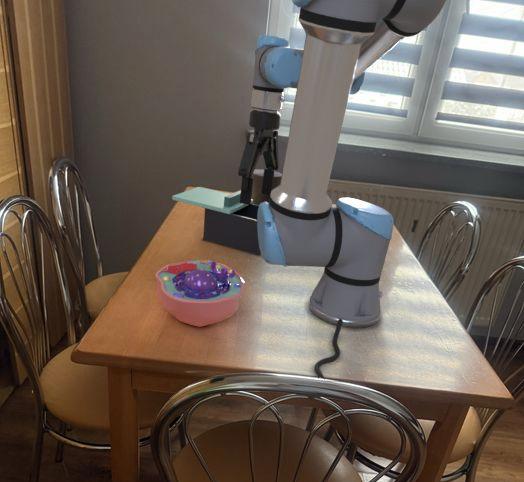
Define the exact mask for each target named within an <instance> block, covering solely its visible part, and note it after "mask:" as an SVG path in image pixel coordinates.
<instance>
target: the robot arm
mask: <svg viewBox="0 0 524 482" xmlns="http://www.w3.org/2000/svg"><path fill="white" fill-rule="evenodd" d="M291 2H292V4H293V5H294V6H296V7H297V8H299V14H298V22H299V23H300V26H301V27H302V29H303V31H304V33H305V37H304V44H303V49H300V48H294V47H290V41H289V39H288V38H287V37H284V36H283V37H282V36H276V35H269V34H260V35H259V36H258V37H257V39H256V48H255V50H254V56H255V57H254V68H253V79H252V89H251V98H250V107H251V108H252V109H250V111H249V118H248V119H249V120H248V125H249V126H250V127H251V128H253V129H254V131H253V133H252V132H248V133H247V135H246V143H245V145H244V148H243V149H244V150H243V152H242V158H241V159H240V164H239V167H238V171H237V175H238V177H241V186H240V190H241V195H240V203H243V204H247V205H251V197H252V187H253V178H251V177H252V175H253V172H254V170H256V167H257V164H258V162H259V160H260V157H261V156H263V160H264V165H265V168H264V169H263V170H264V176H263V185H262V194H265V195H270V200H269V203H268V202H263V203H260V205H259V208H258V214H257V230H258V241H259V248H260V252H261V253H260V255H261V258H262V259H263V261H264V262H265V263H266V264H268V265H274V266H283V267H284V268H286V267H310V268H313V267H314V268H323V269H324V270H323V273H322V276H321V277H320V278H319V281H318V282H317V283H316V286H315V288H314V289H313V291H312V292H311V295H310V297H309V302H308V308H309V311H310V312H311V313H312V314H313V315H314V316H315V317H317V318H318V319H320V321H321V320H322V321H324V322H326V323H328V324H331V325H334V326H336V328H335V331H334V333H333V337H332V343H331V344H332V347H333V350H334V355H332V356H329V357H325V358H322V359H320V360H318V361H317V362H316V363H315V365H314V367H313V368H314V373H315V374H316V377H317V378H318V377H321V378H324V379H325V377H324V374H323V373H322V371H321V369H320V368H321V366H324V365H326V364H328V363H332V362H334V361H336V360H337V359H338V358H340V356H341V350H340V347H339V345H338V338H339V335H340V332H341V329H342V327H343V328H349V329H362V328H368V327H371V326H374V325H376V324H377V323H378V321H379V319H380V315H381V309H382V307H381V299H382V297H383V293H384V292H383V291H380V285H379V284H380V280H381V276H382V272H383V269H384V265H385V262H386V258H387V254H388V249H389V246H390V243H391V240H392V238H393V235H392V234H393V230H394V222H395V219H394V217H393V215H392V214H391V213H390V212H389V211H387V210H386V209H385V208H383V207H380V206H378V205H376V204H373V203H370V202H368V201H364V200H362V199H361V200H360V199H357V198H351V197H341V198H339V199H337V202H336V203H335V206H333V202H332V199H331V198H330V197H329V195H328V194H327V192H328V188H329V184H330V180H331V176H332V171H333V166H334V163H335V158H336V155H337V150H338V146H339V142H340V141H339V140H340V138H341V137H340V136H341V133H342V128H343V125H344V124H343V123H344V119H345V114H346V112H347V106H348V103H349V98H350V96H351V95H356V94H358V92H359V91H360V90H361V87H362V86H363V83H364V80H365V75H366V71H368V70H369V69H370V68H371V67H372V66H373V65H374V64H375V63H377V62H378V61H379V60H380V59H381V58H383V57H384V56H385V55H386V54H388V53H389V51H391V50H392V49H394V47H396V45H397V44H399V43H400V42H401V41H403V40H404V39H405V38H411V37H415V36H417V35H418V34H420V33H421V32H423V31H424V29H426V28H428V27H429V26H430V25H431V24H432V23H433V22H434V21H435V20H436V18H437V17H438V16H439V15H440V13H441V11H442V10H443V8H444V6H445V4H446V2H447V0H291ZM288 88H289V89H296V92H295V97H294V103H293V109H292V114H291V120H290V126H289V132H288V138H287V143H286V149H285V156H284V160H283V166H282V173H281V174H282V178H281V184H280V185H279V186H277V187H276V188H274V189H273V190H272V188H273V179H274V171H278V170H279V166H280V159H279V144H278V142H279V141H278V140H279V139H278V138H279V131H278V130H279V129H280V126H281V117H282V114H281V113H280V111H282V107H283V103H284V102H285V97H284V91H285V89H288Z"/></svg>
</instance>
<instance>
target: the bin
mask: <svg viewBox="0 0 524 482" xmlns="http://www.w3.org/2000/svg"><path fill="white" fill-rule="evenodd" d="M258 208H259V205H255V204H251V205H248V206H246V207H244V208H242V209H240V210H237V211H235V212H233V213H231V214H227V213H223V212H219V211H215V210H211V209H207V208H204V220H203V222H204V223H203V237H202V240H203V241H206V242H210V243H212V244H217V245H221V246H224V247H228V248H231V249H235V250H239V251H241V252H246V253H250V254H253V255H257V256H259V255H261V252H260V248H259V241H258V230H257V214H258Z"/></svg>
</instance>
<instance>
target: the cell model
mask: <svg viewBox="0 0 524 482" xmlns="http://www.w3.org/2000/svg"><path fill="white" fill-rule="evenodd" d="M154 275H155V277H154V278H155V284H156V285H155V286H156V293H157V300H158V303H159V305H160V306H161V308H162V309H164V310H165V311H166V312H167V313H169V314H170V315H171V316H173V317H174V318H176V320H179V322H182V323H185V324H187V325H190V326H193V327H197V328H198V327H199V328H202V327H206V326H210V325H213V324H216V323H220V322H222V321H225V320H228V319H229V318H231V317H232V316H234V314H235V313H236V312H237V311H238V310H239V308H240V304H241V298H242V296H243V294H244V292H245V287H246V282H245V280H244V278H243V277H242V275H241V274H240V273H239V272H237V270H234V269H232V268H231V267H229V266H228V265H227V264H224V263H221V262H216V261H212V260H210V259H209V260H207V259H205V260H204V259H202V260H201V259H191V260H184V261H179V262H174V263H169V264H166V265H164V266H163V267H162V268H160V269H158V270H157V271H156V272H155V274H154Z"/></svg>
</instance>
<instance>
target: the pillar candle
mask: <svg viewBox="0 0 524 482" xmlns="http://www.w3.org/2000/svg"><path fill="white" fill-rule="evenodd" d="M263 176H264V169H255V170H254V172H253V175H252V177H251V178H253V187H252V197H251V199H253V203H252V204H255V205H260V203H263V202H268V203H269V200H270V195H265V194H262V185H263ZM281 178H282V173H280V172H279V171H276V170H274V179H273V188H272V190H273V189H274V188H276V187H277V186H279V185H280V184H281Z"/></svg>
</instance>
